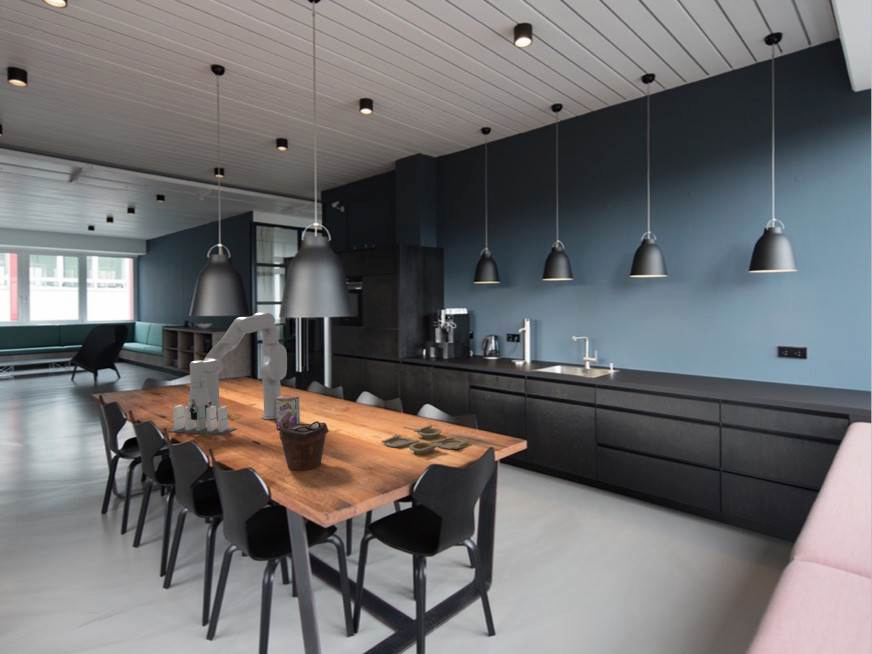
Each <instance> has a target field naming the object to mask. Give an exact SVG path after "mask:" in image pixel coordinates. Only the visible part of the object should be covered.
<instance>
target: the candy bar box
mask: <svg viewBox="0 0 872 654" xmlns="http://www.w3.org/2000/svg"><path fill="white" fill-rule="evenodd" d="M275 400H276V419H275V420H276V421H275V422H276V423H275V424H276V427H275V428H276V430H280V425H281V423H298V424H301V415H300V413H301V412H300V411H301V409H300V396H281V397H277V398H275Z"/></svg>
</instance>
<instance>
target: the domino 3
mask: <svg viewBox="0 0 872 654" xmlns="http://www.w3.org/2000/svg"><path fill="white" fill-rule="evenodd" d="M196 412H197V420H195V427H196V431H201V430H203V429H206V427H207V415H205V406H202V407H199V408H197V410H196Z"/></svg>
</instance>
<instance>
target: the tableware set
mask: <svg viewBox="0 0 872 654" xmlns="http://www.w3.org/2000/svg"><path fill="white" fill-rule="evenodd" d="M412 431H413V432H415V433H417V434H418V435H419V436H421V437H422V439H425V440H426V439H427V440H431V441H430V442H429V441H421V440H419V439H415V440H414V439H413V438H410V437H406V436H405V437H403V436H402V435H401V434H394V435H393V436H391V437H388V438H387V439H383V440H381V443H382V444H384V445H385V446H386V447H387V448H388V447H390V448H405V447H408V448H409V450H410V451H413V452H414V453H415V454H416V455H428V454H430V453H431V452H432V451H433V450H435V449H436V448H441V449H443V450H444V449H445V450H459V449H463V448H465V447H466V446H467V444H469V443H470V440H462V439H456V438H455V437H454V436H451V437H445V438H440V439H436V440H435V438H437V437H438V435H440V434H442V430H441V429H440V428H436V427H433V424H429V425H427V426H423V427H421V428H415V429H413V430H412ZM433 439H434V440H433Z"/></svg>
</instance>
